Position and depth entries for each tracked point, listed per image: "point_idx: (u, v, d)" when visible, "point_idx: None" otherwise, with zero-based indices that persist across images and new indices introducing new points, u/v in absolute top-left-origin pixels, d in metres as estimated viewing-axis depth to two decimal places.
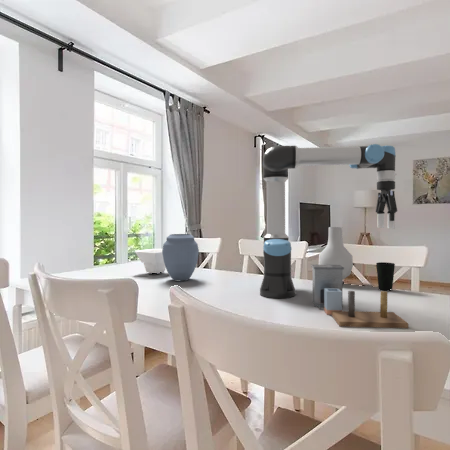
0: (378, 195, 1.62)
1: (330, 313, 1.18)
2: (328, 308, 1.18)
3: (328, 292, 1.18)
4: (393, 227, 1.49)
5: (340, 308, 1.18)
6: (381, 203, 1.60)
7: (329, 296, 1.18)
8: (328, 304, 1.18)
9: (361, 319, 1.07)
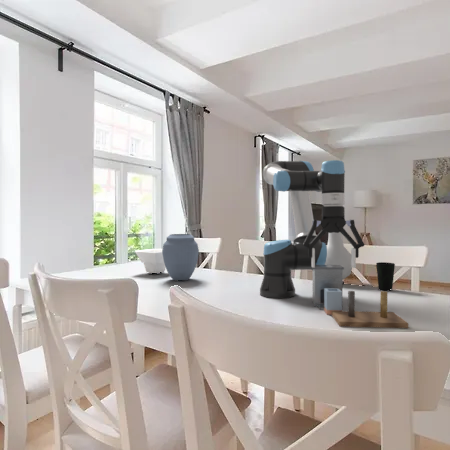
0: None
1: (330, 313, 1.18)
2: (328, 308, 1.18)
3: (328, 292, 1.18)
4: (312, 265, 1.20)
5: (340, 308, 1.18)
6: (343, 234, 1.20)
7: (329, 296, 1.18)
8: (328, 304, 1.18)
9: (361, 319, 1.07)
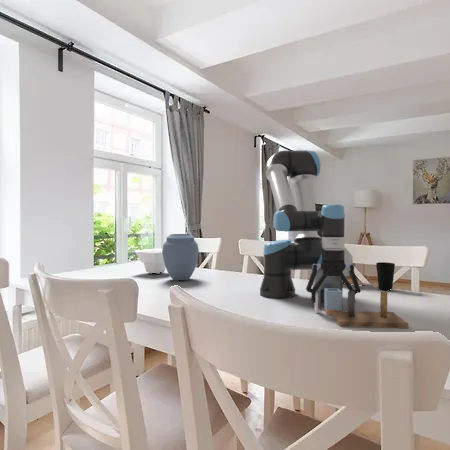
0: None
1: (330, 313, 1.18)
2: (328, 308, 1.18)
3: (328, 292, 1.18)
4: (315, 311, 1.20)
5: (340, 308, 1.18)
6: (341, 278, 1.21)
7: (329, 296, 1.18)
8: (328, 304, 1.18)
9: (361, 319, 1.07)
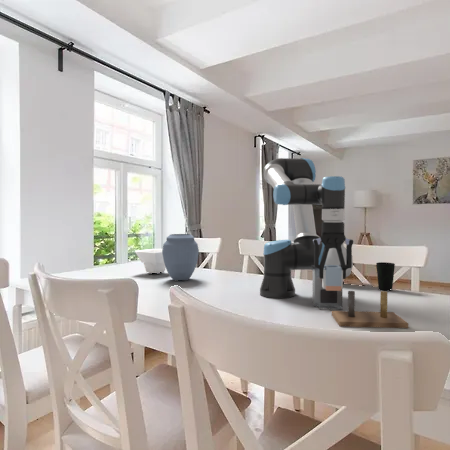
0: None
1: (329, 289, 1.18)
2: (327, 284, 1.18)
3: (328, 268, 1.18)
4: (323, 286, 1.21)
5: (339, 284, 1.18)
6: (337, 251, 1.21)
7: (329, 272, 1.18)
8: (327, 280, 1.18)
9: (361, 319, 1.07)
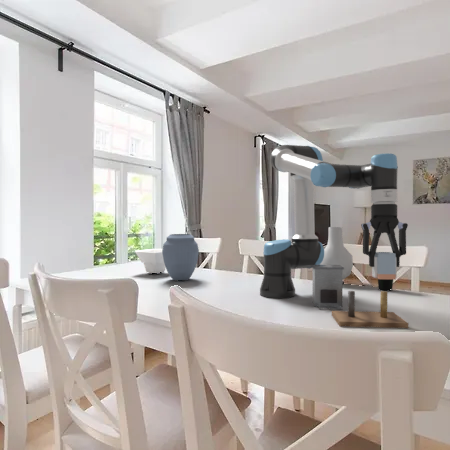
0: None
1: (382, 277, 1.07)
2: (380, 272, 1.07)
3: (380, 254, 1.07)
4: (374, 275, 1.09)
5: (393, 272, 1.07)
6: (389, 237, 1.10)
7: (381, 259, 1.07)
8: (380, 268, 1.07)
9: (361, 319, 1.07)
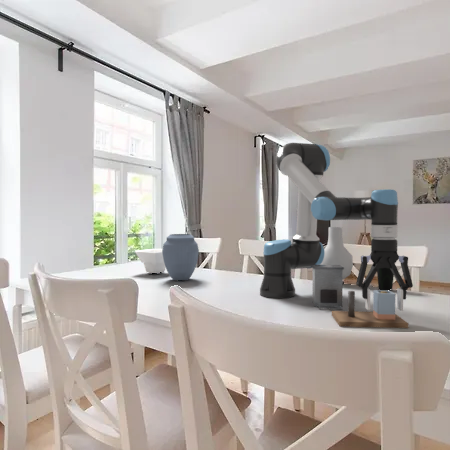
0: None
1: (382, 317, 1.08)
2: (380, 312, 1.08)
3: (380, 294, 1.07)
4: (367, 307, 1.10)
5: (393, 312, 1.07)
6: None
7: (381, 299, 1.07)
8: (380, 308, 1.08)
9: (361, 319, 1.07)
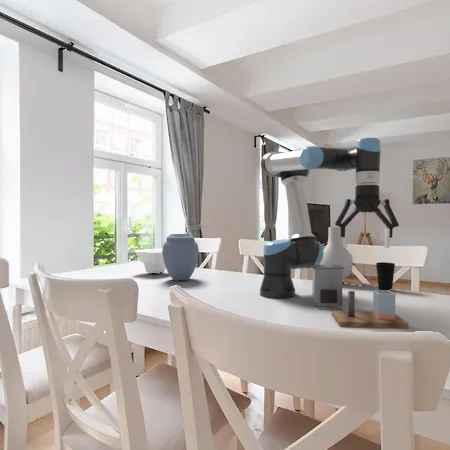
0: None
1: (382, 317, 1.08)
2: (380, 312, 1.08)
3: (380, 294, 1.07)
4: (344, 245, 1.18)
5: (393, 312, 1.07)
6: (376, 214, 1.18)
7: (381, 299, 1.07)
8: (380, 308, 1.08)
9: (361, 319, 1.07)
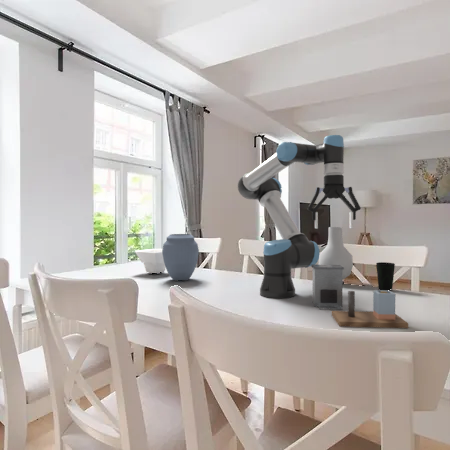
0: None
1: (382, 317, 1.08)
2: (380, 312, 1.08)
3: (380, 294, 1.07)
4: (315, 227, 1.38)
5: (393, 312, 1.07)
6: (342, 200, 1.38)
7: (381, 299, 1.07)
8: (380, 308, 1.08)
9: (361, 319, 1.07)
